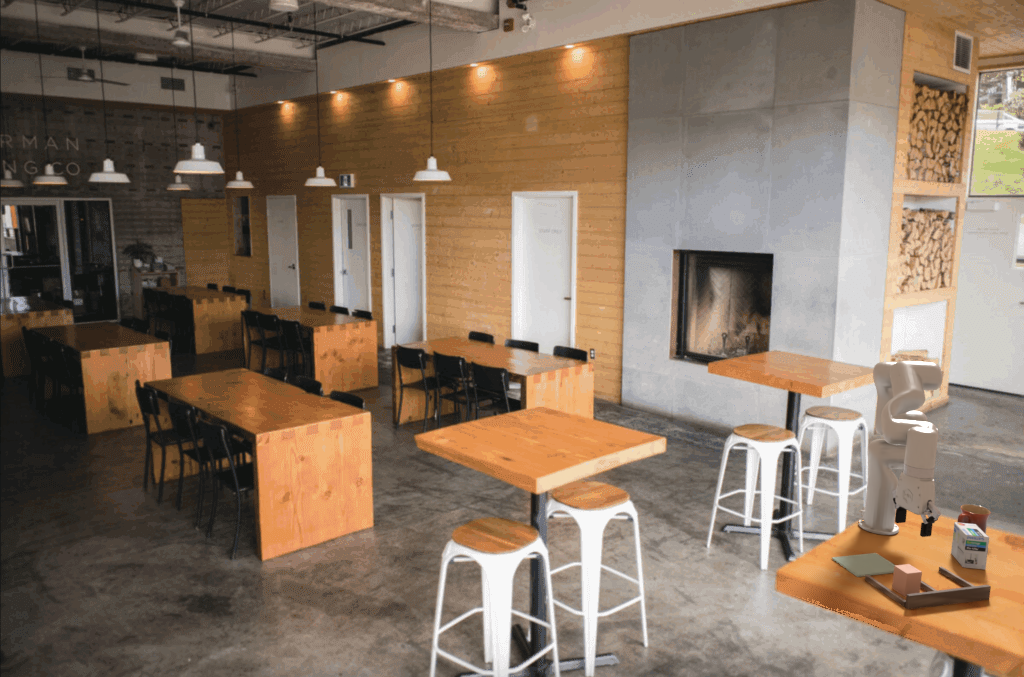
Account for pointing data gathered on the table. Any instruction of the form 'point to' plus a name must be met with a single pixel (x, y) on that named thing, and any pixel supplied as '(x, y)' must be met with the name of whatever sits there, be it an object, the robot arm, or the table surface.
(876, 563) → the mat
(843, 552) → the table surface
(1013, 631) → the table surface
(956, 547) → the light bulb box
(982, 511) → the mug
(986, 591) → the lane rack
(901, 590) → the block
